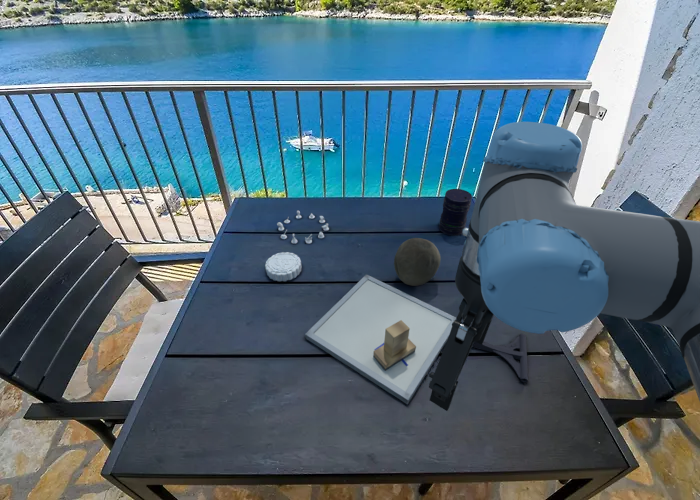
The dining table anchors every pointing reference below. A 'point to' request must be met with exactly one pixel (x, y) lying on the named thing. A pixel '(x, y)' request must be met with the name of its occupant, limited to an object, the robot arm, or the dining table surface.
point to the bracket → (511, 354)
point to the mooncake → (283, 266)
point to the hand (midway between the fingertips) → (458, 369)
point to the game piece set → (308, 240)
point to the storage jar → (455, 211)
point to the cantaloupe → (416, 261)
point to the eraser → (394, 346)
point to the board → (382, 334)
